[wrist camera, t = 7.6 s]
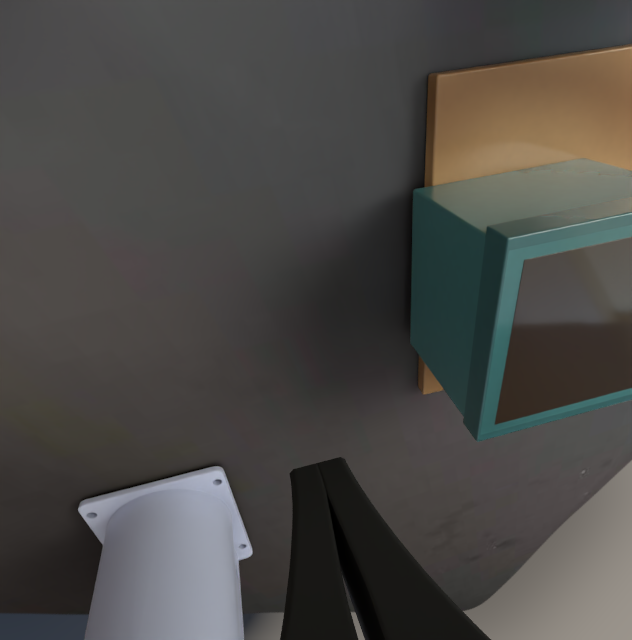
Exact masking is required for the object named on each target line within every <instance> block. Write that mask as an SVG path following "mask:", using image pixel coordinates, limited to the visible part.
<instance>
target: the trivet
mask: <svg viewBox="0 0 632 640" xmlns="http://www.w3.org/2000/svg"><path fill="white" fill-rule="evenodd" d="M581 158H586V159H589V160H593V161H597V162H601V163H604V164H608V165H612V166H616V167H619V168H623V169H627V170H631V171H632V44H628V45H621V46H614V47H607V48H601V49H594V50H587V51H580V52H573V53H567V54H560V55H553V56H546V57H539V58H533V59H526V60H519V61H512V62H505V63H499V64H492V65H485V66H478V67H471V68H465V69H458V70H451V71H444V72H437V73H431V74H429V76H428V99H427V129H426V159H425V187H429V186H434V185H440V184H445V183H451V182H456V181H462V180H467V179H472V178H478V177H483V176H489V175H494V174H500V173H505V172H510V171H516V170H521V169H527V168H532V167H537V166H543V165H548V164H554V163H559V162H565V161H570V160H575V159H581ZM418 387H419V389H420V390H421V392H422V394H423V395H425V394H429V393H433V392H437V391H441V390H444V389H443V387H442V386H441V385H440V383H439V382H438V381H437V379H436V378H435V376H434V375H433V374H432V372H431V371H430V370H429V368H428V367H427V365H426V364H425V363H424V361H423V360H422V359H421V357H420V356H419V369H418Z"/></svg>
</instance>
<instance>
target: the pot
mask: <svg viewBox="0 0 632 640" xmlns="http://www.w3.org/2000/svg"><path fill="white" fill-rule="evenodd" d="M410 343H411V345H412V346H413V348H414V349H415V350H416V352H417V353H418V354H419V356H420V357H421V359H422V360H423V361H424V363H425V364H426V365H427V367H428V368H429V370H430V371H431V372H432V374H433V375H434V376H435V378H436V379H437V381H438V382H439V383H440V385H441V386H442V387H443V389H444V390H445V392H446V393H447V394H448V396H449V397H450V399H451V400H452V401H453V403H454V404H455V405H456V407H457V408H458V410H459V411H460V412H461V414H462V415H463V416H464V419H463V423H464V424H465V426H466V427H467V429H468V430H469V431H470V433H471V434H472V436H473V437H474V438H475V440H476V441H477V442H479V441H483V440H486V439H490V438H494V437H497V436H501V435H505V434H508V433H512V432H516V431H519V430H523V429H527V428H530V427H534V426H538V425H541V424H545V423H549V422H552V421H556V420H560V419H563V418H567V417H571V416H574V415H578V414H582V413H585V412H589V411H592V410H596V409H600V408H603V407H607V406H611V405H614V404H618V403H622V402H625V401H629V400H632V171H631V170H627V169H623V168H619V167H616V166H612V165H608V164H604V163H601V162H597V161H593V160H589V159H586V158H581V159H575V160H570V161H565V162H559V163H554V164H548V165H543V166H537V167H532V168H527V169H521V170H516V171H510V172H505V173H500V174H494V175H489V176H483V177H478V178H472V179H467V180H462V181H456V182H451V183H445V184H440V185H434V186H429V187H424V188H418V189H414V190H413V222H412V278H411V334H410Z"/></svg>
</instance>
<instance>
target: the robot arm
mask: <svg viewBox="0 0 632 640" xmlns="http://www.w3.org/2000/svg"><path fill="white" fill-rule="evenodd" d="M217 479H218V480H217ZM290 479H291V486H292V500H293V525H292V543H291V559H290V570H289V579H288V587H287V596H286V604H285V612H284V619H283V626H282V632H281V638H280V640H358V637H357V633H356V630H355V626H354V623H353V619H352V616H351V612H350V609H349V605H348V601H347V597H346V592H345V588H344V584H343V579H342V575H343V578H344V581H345V584H346V586H347V589H348V592H349V595H350V598H351V601H352V604H353V606H354V609H355V612H356V615H357V618H358V621H359V623H360V626H361V629H362V632H363V635H364V638H365V640H491V639H490V638H489V637H488V636H487V635H486V634H484V633H483V632H482V631H481V630H480V629H479V628H478V627H477V626H476V625H475V624H474V623H473V622H472V620H471V619H470V618H469V617H468V616H466V614H465V613H464V612H463V611H462V610H461V609H460V608H459V607H458V606H457V605H456V604H455V603H454V602H453V601H452V600H451V599H450V598H449V597H448V596H447V595H446V594H445V593H444V591H443V590H442V589H441V588H440V587H439V586H438V585H437V584H436V583H435V582H434V580H433V579H432V578H431V577H430V576H429V575H428V574H427V573H426V571H425V570H424V569H423V568H422V567H421V566H420V564H419V563H418V562H417V561H416V560H415V559H414V557H413V556H412V555H411V554H410V553H409V551H408V550H407V549H406V548H405V547H404V545H403V544H402V543H401V542H400V540H399V539H398V538H397V537H396V535H395V534H394V533H393V531H392V530H391V529H390V527H389V526H388V525H387V523H386V522H385V521H384V520H383V518H382V517H381V516H380V514H379V513H378V511H377V510H376V509H375V507H374V506H373V505H372V503H371V502H370V500H369V499H368V497H367V496H366V494H365V493H364V491H363V490H362V488H361V487H360V485H359V484H358V482H357V480H356V479H355V477H354V475H353V474H352V472H351V470H350V468H349V467H348V465H347V463H346V461H345V459H343V458H341V457H339V458H335V459H331V460H328V461H324V462H320V463H316V464H312V465H308V466H304V467H301V468H297V469H293V470H292V471H291V473H290ZM78 511H79V513H80V514H81V516H82V517H83V519H84V520H85V521H86V523H87V524H88V525H89V527H90V528H91V530H92V531H93V532H94V534H95V535H96V536H97V538H98V539H99V541H100V542H101V543H102V545H103V548H102V553H101V558H100V563H99V568H98V573H97V578H96V583H95V588H94V593H93V598H92V603H91V607H90V612H89V617H88V622H87V627H86V632H85V637H84V640H244V630H243V617H242V616H243V615H242V602H241V588H240V574H239V560H242V559H245V558H248V557H250V556H251V555H252V553H253V552H252V546H251V543H250V540H249V538H248V535H247V532H246V529H245V527H244V524H243V521H242V518H241V516H240V513H239V510H238V507H237V505H236V502H235V499H234V496H233V494H232V491H231V488H230V485H229V483H228V480H227V477H226V474H225V472H224V469H223V468H222V467H220V466H213V467H209V468H205V469H201V470H197V471H193V472H190V473H186V474H182V475H178V476H174V477H170V478H166V479H162V480H159V481H155V482H151V483H147V484H143V485H139V486H135V487H131V488H128V489H124V490H120V491H116V492H112V493H108V494H104V495H100V496H97V497H93V498H89V499H85V500H83V501H82V502H80V504H79V508H78ZM341 572H342V573H341Z"/></svg>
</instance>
